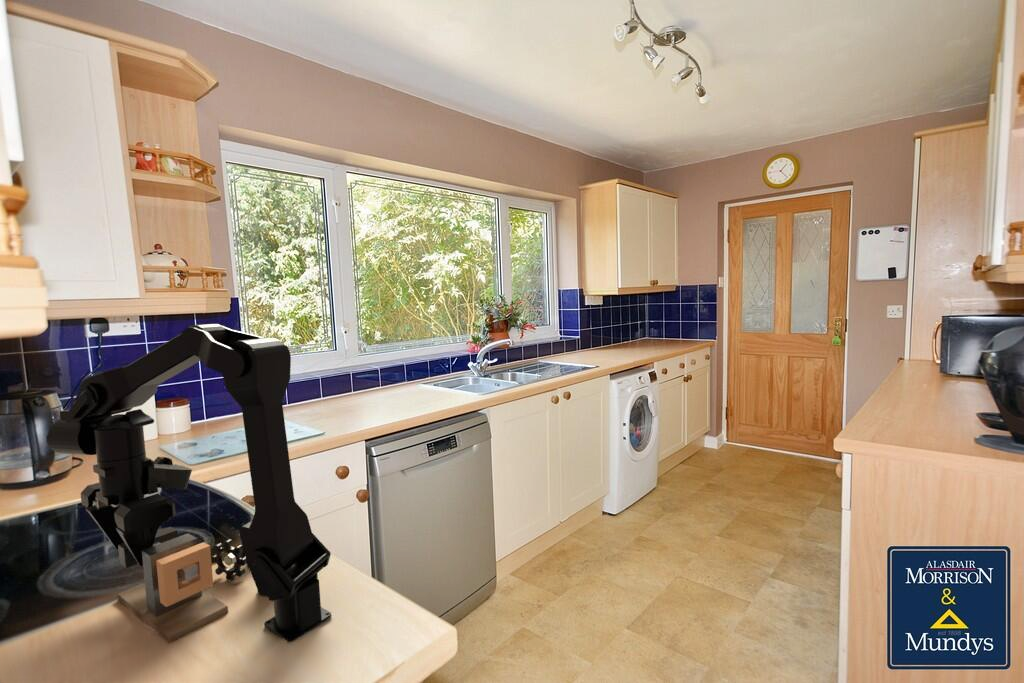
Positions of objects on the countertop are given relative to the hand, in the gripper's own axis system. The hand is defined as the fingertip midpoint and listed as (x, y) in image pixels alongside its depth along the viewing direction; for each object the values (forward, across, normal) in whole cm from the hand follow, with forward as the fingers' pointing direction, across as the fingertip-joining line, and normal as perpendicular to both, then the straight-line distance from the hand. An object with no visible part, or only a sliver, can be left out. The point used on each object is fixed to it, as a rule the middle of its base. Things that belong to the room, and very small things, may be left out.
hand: (131, 556), depth 75 cm
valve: (+7, -4, -16) cm, 18 cm away
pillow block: (+7, -8, -2) cm, 11 cm away
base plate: (+7, -6, -2) cm, 10 cm away
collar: (+3, -12, -2) cm, 13 cm away
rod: (+1, -7, -2) cm, 7 cm away
